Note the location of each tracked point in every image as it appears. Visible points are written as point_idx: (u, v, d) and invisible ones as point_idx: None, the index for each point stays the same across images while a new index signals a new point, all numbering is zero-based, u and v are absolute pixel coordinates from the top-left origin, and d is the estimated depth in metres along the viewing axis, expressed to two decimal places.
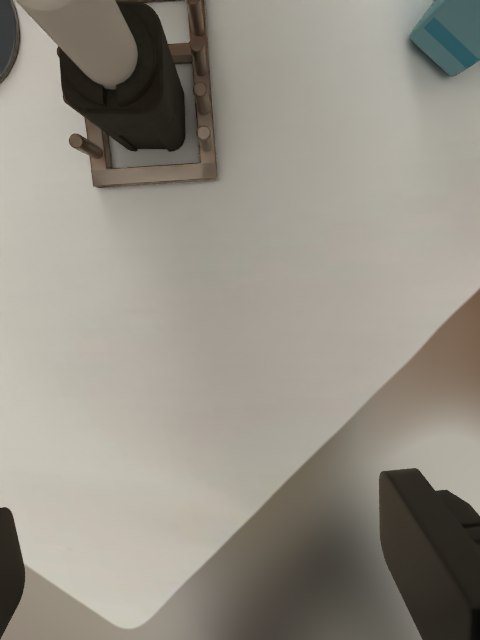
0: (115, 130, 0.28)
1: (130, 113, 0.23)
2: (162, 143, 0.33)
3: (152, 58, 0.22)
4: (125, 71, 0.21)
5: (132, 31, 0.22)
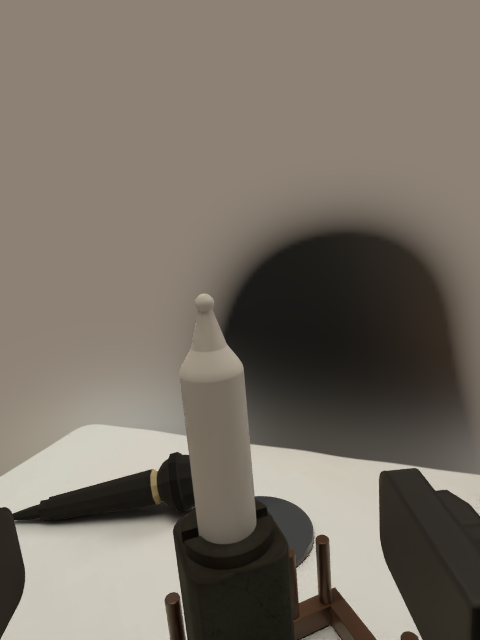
0: (184, 611, 0.24)
1: (182, 564, 0.21)
2: None
3: (236, 553, 0.21)
4: (210, 526, 0.21)
5: (253, 533, 0.22)
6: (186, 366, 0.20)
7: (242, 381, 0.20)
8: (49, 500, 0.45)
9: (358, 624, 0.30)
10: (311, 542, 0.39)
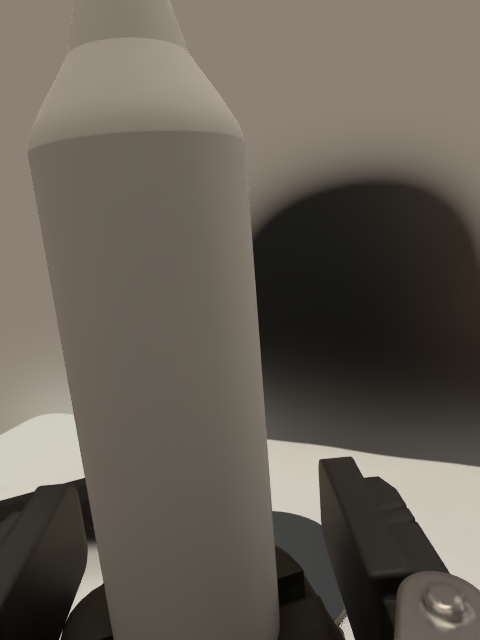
0: None
1: None
2: None
3: None
4: None
5: None
6: (42, 105, 0.06)
7: (242, 174, 0.06)
8: None
9: None
10: None
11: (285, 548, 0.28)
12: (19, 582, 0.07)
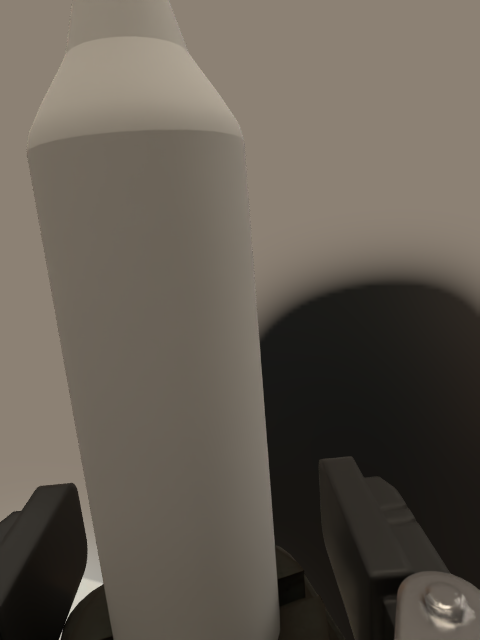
0: None
1: None
2: None
3: None
4: None
5: None
6: (41, 104, 0.06)
7: (241, 173, 0.06)
8: None
9: None
10: None
11: None
12: (19, 582, 0.07)
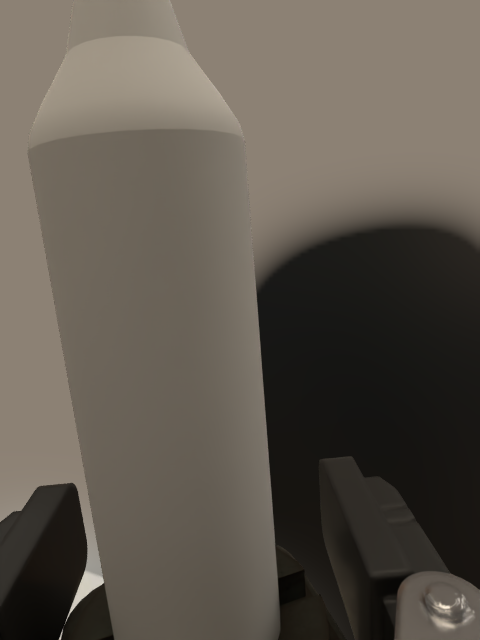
0: None
1: None
2: None
3: None
4: None
5: None
6: (42, 104, 0.06)
7: (242, 172, 0.06)
8: None
9: None
10: None
11: None
12: (19, 582, 0.07)
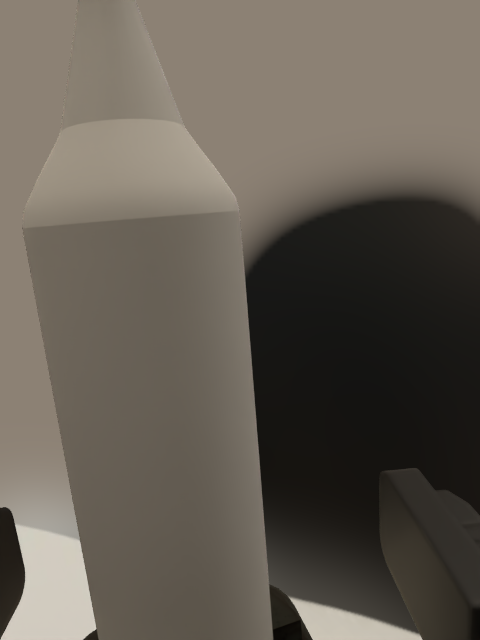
0: None
1: None
2: None
3: None
4: None
5: None
6: (36, 183, 0.06)
7: (235, 246, 0.06)
8: None
9: None
10: None
11: None
12: None
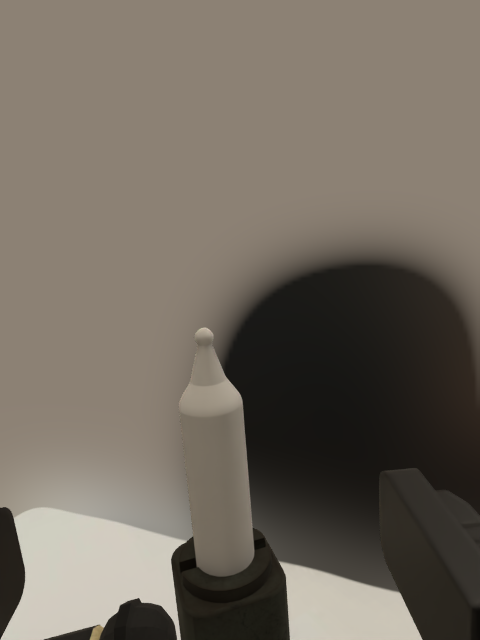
0: (181, 639, 0.24)
1: (179, 596, 0.21)
2: None
3: (233, 587, 0.21)
4: (207, 558, 0.21)
5: (251, 566, 0.22)
6: (185, 399, 0.20)
7: (241, 415, 0.20)
8: None
9: None
10: None
11: None
12: None
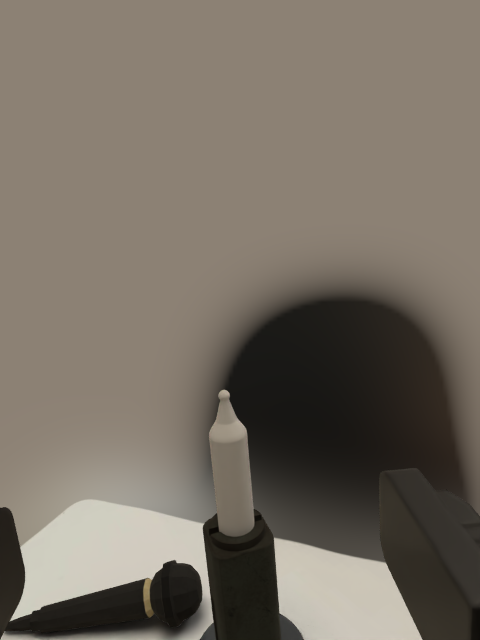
0: (209, 578, 0.38)
1: (209, 548, 0.36)
2: None
3: (242, 542, 0.35)
4: (226, 526, 0.36)
5: (252, 530, 0.36)
6: (213, 432, 0.34)
7: (246, 440, 0.35)
8: (41, 612, 0.45)
9: None
10: None
11: None
12: None
